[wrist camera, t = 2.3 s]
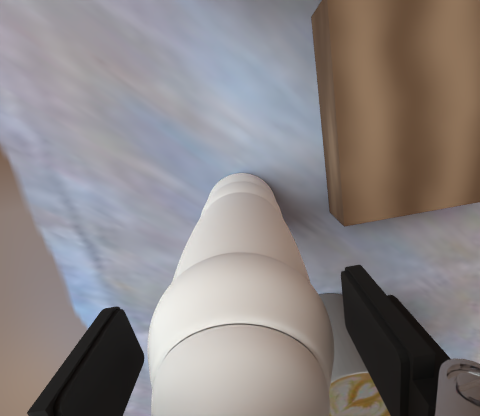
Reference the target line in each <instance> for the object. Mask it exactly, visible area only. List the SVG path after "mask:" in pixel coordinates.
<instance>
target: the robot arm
mask: <svg viewBox="0 0 480 416" xmlns="http://www.w3.org/2000/svg"><path fill="white" fill-rule="evenodd" d="M341 281H342V294H343V307H344V319H345V326H346V329H347V331H348V333H349V335H350V337H351V339H352V341H353V343H354V345H355V347H356V349H357V351H358V353H359V355H360V357H361V359H362V361H363V363H364V365H365V367H366V369H367V371H368V373H369V374H370V376H371V378H372V380H373V382H374V384H375V386H376V388H377V390H378V392H379V394H380V396H381V398H382V400H383V402H384V404H385V406H386V408H387V410H388V412H389V414H390V415H391V416H480V364H479V363H476V362H473V361H470V360H466V359H450V358H449V356H448V355H447V354H446V353H445V352H444V351H443V350H442V349H441V347H440V346H439V345H438V344H437V343H436V342H435V341H434V340H433V338H432V337H431V336H430V335H429V334H428V333H427V332H426V331H425V329H424V328H423V327H422V326H421V325H420V324H419V323H418V322H417V320H416V319H415V318H414V317H413V316H412V315H411V314H410V313H409V311H408V310H407V309H406V308H405V307H404V306H403V305H402V304H401V302H400V301H399V300H398V299H397V298H396V297H395V296H393V295H388V296H387V295H386V294H385V293H384V292H383V291H382V289H381V288H380V287H379V286H378V285H377V284H376V282H375V281H374V280H373V279H372V278H371V276H370V275H369V274H368V273H367V272H366V270H365V269H364V268H363V267H362V266H361V265H355V266H349V267H346V268H345V271H342V272H341ZM143 363H144V353H143V351H142V349H141V347H140V345H139V342H138V340H137V338H136V336H135V334H134V331H133V329H132V327H131V325H130V323H129V320H128V318H127V316H126V314H125V312H124V310H123V309H120V308H119V307H111V308H105V309H103V310H102V311H101V312H100V314H99V315H98V316H97V318H96V319H95V320H94V322H93V323H92V324H91V326H90V327H89V329H88V330H87V331H86V333H85V334H84V335H83V337H82V338H81V340H80V341H79V342H78V344H77V345H76V346H75V348H74V349H73V351H72V352H71V353H70V355H69V356H68V357H67V359H66V360H65V361H64V363H63V364H62V366H61V367H60V368H59V370H58V371H57V372H56V374H55V375H54V377H53V378H52V379H51V381H50V382H49V384H48V385H47V386H46V388H45V389H44V390H43V392H42V393H41V394H40V396H39V397H38V399H37V400H36V401H35V403H34V404H33V405H32V407H31V408H30V409H29V411H28V412H27V414H28V415H29V416H123V413H124V411H125V408H126V406H127V403H128V401H129V398H130V396H131V393H132V391H133V388H134V386H135V383H136V381H137V378H138V376H139V373H140V371H141V368H142V366H143Z"/></svg>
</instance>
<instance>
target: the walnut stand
mask: <svg viewBox="0 0 480 416" xmlns="http://www.w3.org/2000/svg"><path fill="white" fill-rule="evenodd" d="M311 19H312V29H313V40H314V51H315V61H316V72H317V82H318V93H319V104H320V114H321V125H322V135H323V146H324V157H325V167H326V178H327V189H328V199H329V210H330V213H331V214H332V215H333V216H334V217H335V218H336V219H337V220H338V221H339V222H340V223H341V224H342V225H343V226H350V225H355V224H361V223H366V222H372V221H377V220H383V219H388V218H394V217H399V216H405V215H410V214H416V213H422V212H427V211H433V210H438V209H444V208H449V207H455V206H460V205H466V204H471V203H477V202H480V0H322V1H321V3H320V4H319V6H318V7H317V9H316V11H315V12H314V14H313V15H312V17H311Z"/></svg>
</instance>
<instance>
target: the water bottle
mask: <svg viewBox="0 0 480 416" xmlns="http://www.w3.org/2000/svg"><path fill="white" fill-rule="evenodd" d="M333 362H334V337H333V330H332V325H331V322H330V318H329V315H328V313H327V310H326V308H325V306H324V304H323V302H322V300H321V298H320V296H319V295H318V293H317V292H316V290H315V289H314V288H313V286H312V285H311V284H310V280H309V277H308V274H307V271H306V268H305V265H304V262H303V260H302V257H301V255H300V252H299V250H298V248H297V245H296V243H295V241H294V239H293V236H292V234H291V232H290V230H289V228H288V226H287V225H286V223H285V221H284V220H283V217H282V213H281V210H280V208H279V206H278V204H277V202H276V199H275V196H274V194H273V192H272V190H271V189H270V187H269V186H268V185H267V184H266V183H265V182H264V181H263V180H262V179H260V178H259V177H257V176H254V175H251V174H247V173H237V174H232V175H229V176H227V177H225V178H223V179H222V180H220V181H219V182H218V183H217V184H216V185H215V186H214V188H213V189H212V191H211V193H210V195H209V198H208V201H207V202H206V204H205V206H204V208H203V211H202V214H201V218H200V219H199V221H198V223H197V224H196V226H195V228H194V230H193V232H192V234H191V236H190V238H189V240H188V242H187V244H186V247H185V249H184V251H183V253H182V256H181V258H180V261H179V263H178V266H177V269H176V272H175V275H174V278H173V281H172V283H171V284H170V286H169V287H168V288H167V289H166V291H165V292H164V294H163V296H162V297H161V299H160V301H159V303H158V305H157V307H156V309H155V312H154V314H153V317H152V320H151V324H150V329H149V335H148V363H149V371H150V380H151V386H152V390H153V391H152V400H151V413H152V416H329V414H330V401H329V389H330V384H331V377H332V369H333Z"/></svg>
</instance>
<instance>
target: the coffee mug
mask: <svg viewBox="0 0 480 416" xmlns="http://www.w3.org/2000/svg"><path fill="white" fill-rule="evenodd" d="M319 296H320V298H321V300H322V302H323V304H324V306H325V308H326V310H327V313H328V315H329V318H330V322H331V325H332V330H333V337H334V362H333V369H332V377H331V384H330V389H329V401H330V414H329V416H391V415H390V414H389V412H388V410H387V408H386V406H385V404H384V402H383V400H382V398H381V396H380V394H379V392H378V390H377V388H376V386H375V384H374V382H373V380H372V378H371V376H370V374H369V373H368V371H367V369H366V367H365V365H364V363H363V361H362V359H361V357H360V355H359V353H358V351H357V349H356V347H355V345H354V343H353V341H352V339H351V337H350V335H349V333H348V331H347V329H346V326H345V319H344V307H343V295H341V294H334V293H325V294H319Z"/></svg>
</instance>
